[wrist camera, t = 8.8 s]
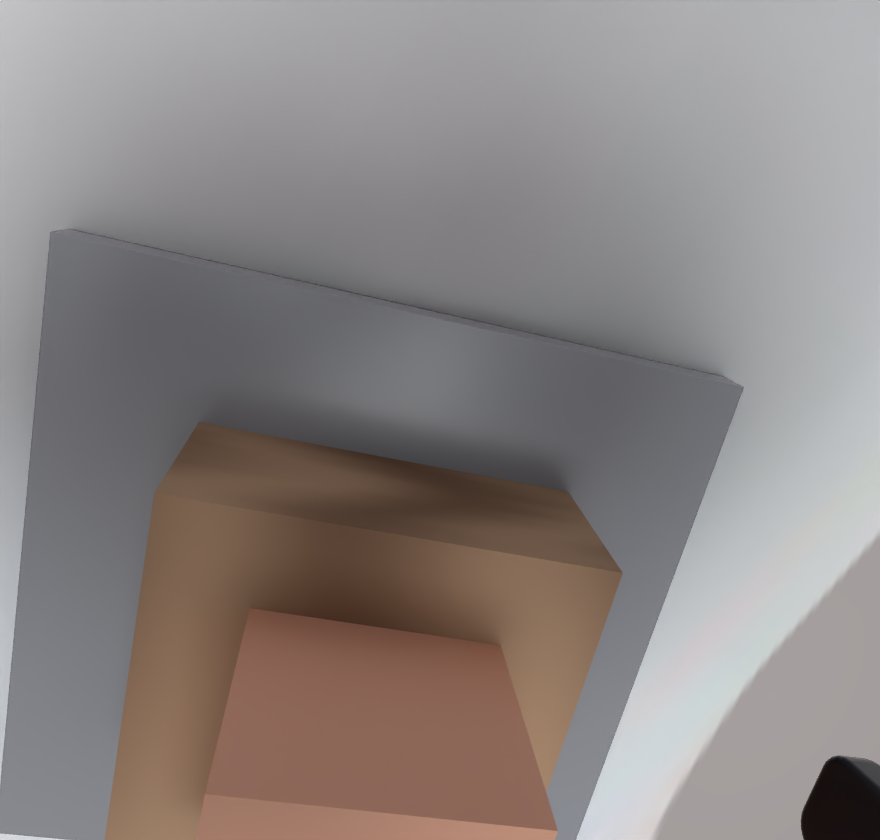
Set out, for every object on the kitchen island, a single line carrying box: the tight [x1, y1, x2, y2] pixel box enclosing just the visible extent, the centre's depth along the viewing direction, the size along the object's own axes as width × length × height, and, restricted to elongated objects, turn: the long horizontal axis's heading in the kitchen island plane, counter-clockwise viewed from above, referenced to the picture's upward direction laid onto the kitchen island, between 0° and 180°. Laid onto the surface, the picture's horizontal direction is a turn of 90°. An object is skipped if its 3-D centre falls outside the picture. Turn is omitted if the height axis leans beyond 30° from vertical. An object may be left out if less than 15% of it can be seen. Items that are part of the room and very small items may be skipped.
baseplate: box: [0, 229, 744, 840], centre depth 20 cm, size 16×16×1 cm
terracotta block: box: [196, 608, 558, 840], centre depth 13 cm, size 5×5×4 cm
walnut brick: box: [105, 422, 623, 840], centre depth 17 cm, size 9×9×4 cm
